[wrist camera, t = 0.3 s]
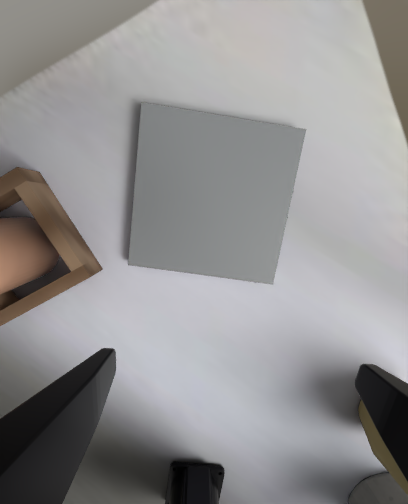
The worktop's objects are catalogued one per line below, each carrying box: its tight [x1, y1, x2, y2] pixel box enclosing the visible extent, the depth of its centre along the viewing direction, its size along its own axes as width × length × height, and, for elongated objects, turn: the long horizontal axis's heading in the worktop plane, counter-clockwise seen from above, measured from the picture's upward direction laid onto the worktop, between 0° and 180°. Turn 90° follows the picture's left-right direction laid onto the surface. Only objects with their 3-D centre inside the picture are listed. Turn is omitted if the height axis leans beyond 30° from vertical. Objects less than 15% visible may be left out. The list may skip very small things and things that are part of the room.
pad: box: [128, 102, 306, 284], centre depth 20 cm, size 14×14×1 cm
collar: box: [0, 167, 102, 326], centre depth 20 cm, size 10×10×2 cm
